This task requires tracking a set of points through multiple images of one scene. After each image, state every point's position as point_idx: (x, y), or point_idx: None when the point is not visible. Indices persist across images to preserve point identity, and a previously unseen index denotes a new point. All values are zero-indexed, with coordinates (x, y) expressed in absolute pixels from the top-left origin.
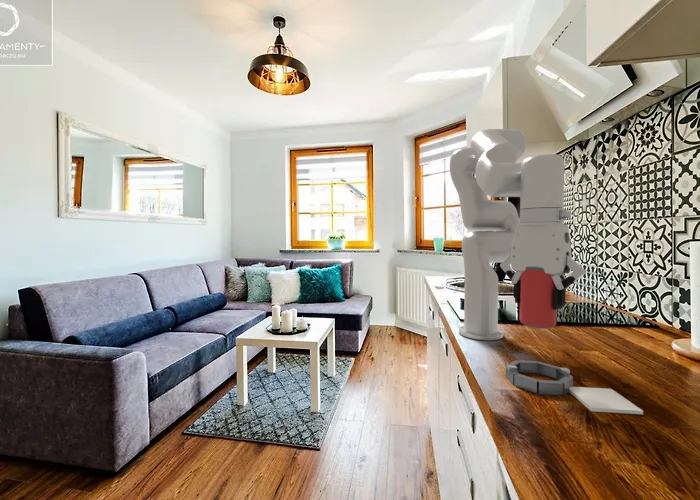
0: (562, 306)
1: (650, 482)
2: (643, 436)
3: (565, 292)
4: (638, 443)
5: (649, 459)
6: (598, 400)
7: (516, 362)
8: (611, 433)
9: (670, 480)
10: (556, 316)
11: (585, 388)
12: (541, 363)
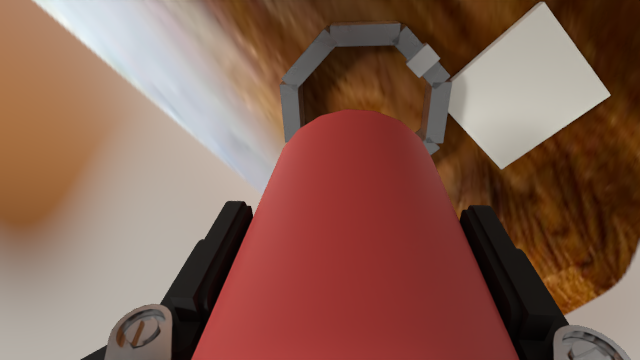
0: (489, 208)
1: (575, 293)
2: (587, 191)
3: (561, 315)
4: (574, 219)
5: (583, 250)
6: (513, 119)
7: (291, 99)
8: (534, 219)
9: (601, 276)
10: (440, 178)
11: (478, 67)
12: (344, 39)
